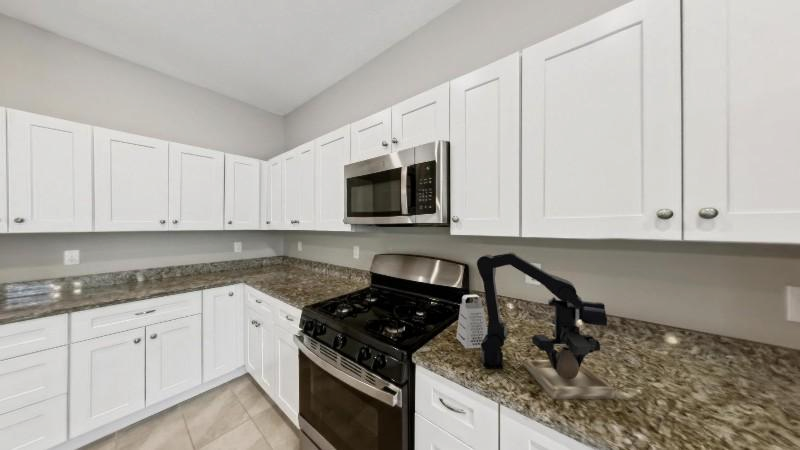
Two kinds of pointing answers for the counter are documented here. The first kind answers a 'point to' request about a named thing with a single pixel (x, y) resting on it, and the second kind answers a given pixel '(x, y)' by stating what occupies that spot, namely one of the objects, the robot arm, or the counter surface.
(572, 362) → the vase
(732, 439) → the counter surface
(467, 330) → the grater
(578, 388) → the tray
